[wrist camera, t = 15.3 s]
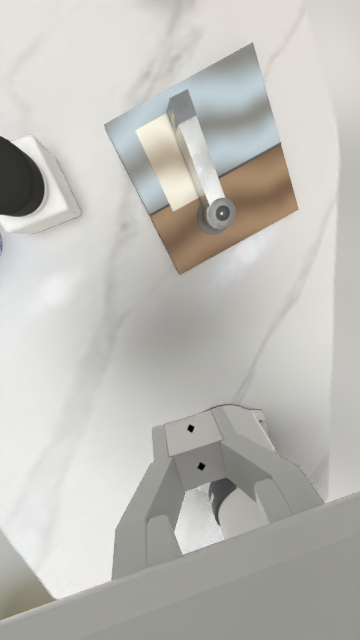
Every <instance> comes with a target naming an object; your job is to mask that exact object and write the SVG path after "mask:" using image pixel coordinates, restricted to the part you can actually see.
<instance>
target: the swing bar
mask: <svg viewBox="0 0 360 640" xmlns="http://www.w3.org/2000/svg"><path fill="white" fill-rule="evenodd" d="M166 112H167V115H168V117H169V120H170V122H171V125H172V128H173V130H174V133H175V135H176V138H177V140H178V143H179V146H180V148H181V151H182V153H183V156H184V158H185V161H186V164H187V166H188V169H189V171H190V174H191V176H192V179H193V182H194V184H195V187H196V189H197V192H198V194H199V197H200V200H201V202H202V205H203V207H204V210H203V221H204V223H205V225H206V226H207V227H209V228H211V229H222V228H226V227H228V226H230V225H231V224H232V223H233V221H234V219H235V216H236V209H235V206H234V204H233V202H232V201H231V200H229V199H227V198H225V195H224V193H223V190H222V187H221V184H220V181H219V178H218V176H217V173H216V170H215V167H214V164H213V161H212V158H211V156H210V153H209V150H208V147H207V144H206V141H205V139H204V136H203V133H202V130H201V127H200V124H199V121H198V119H197V116H196V115H197V114H196V111H195V108H194V105H193V102H192V99H191V97H190V94H189V91H188V89H187V90H185V91H183V92H181V93H179V94H177V95H175V96H173V97H171V98H170V99H169V103H168V107H167V111H166Z"/></svg>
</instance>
